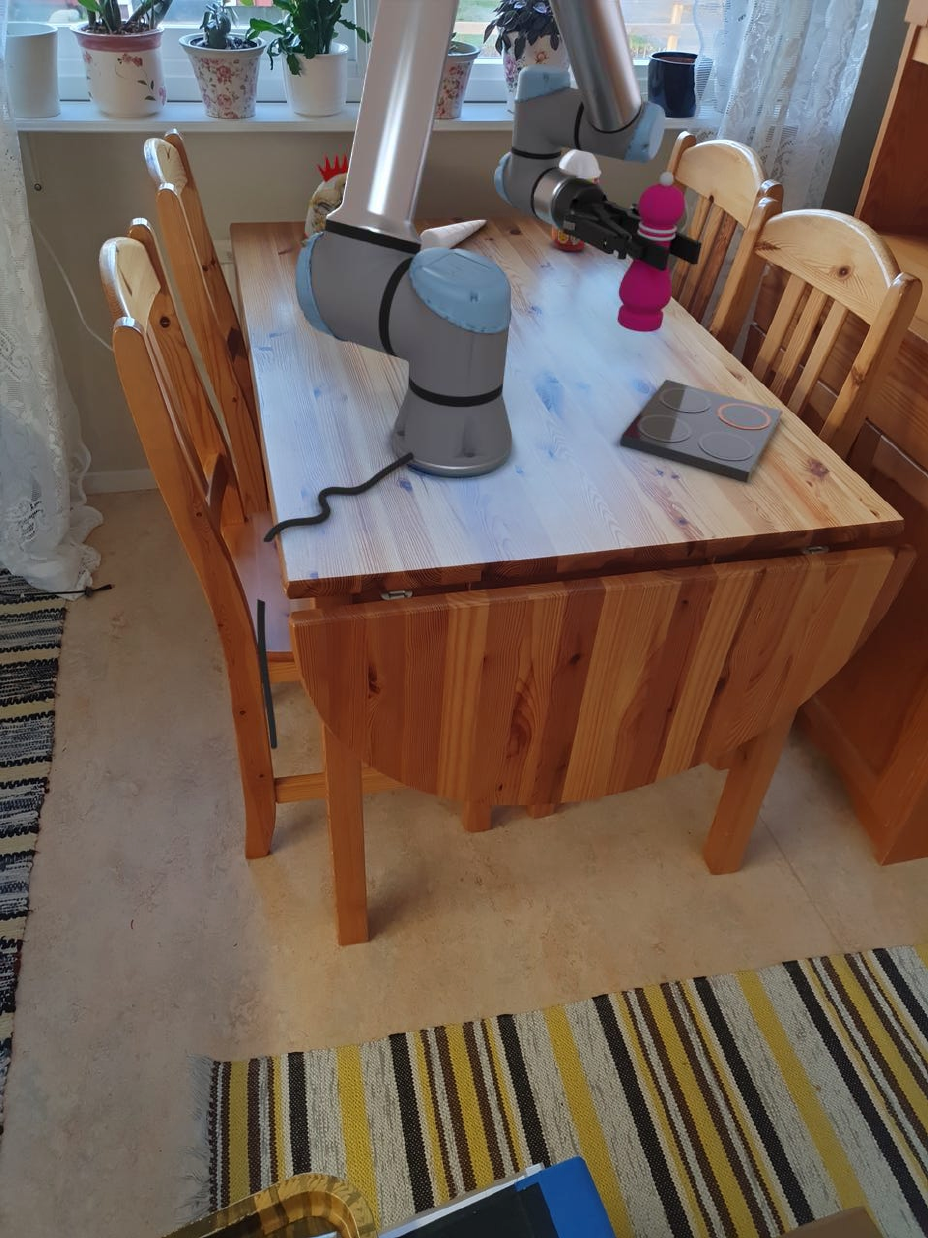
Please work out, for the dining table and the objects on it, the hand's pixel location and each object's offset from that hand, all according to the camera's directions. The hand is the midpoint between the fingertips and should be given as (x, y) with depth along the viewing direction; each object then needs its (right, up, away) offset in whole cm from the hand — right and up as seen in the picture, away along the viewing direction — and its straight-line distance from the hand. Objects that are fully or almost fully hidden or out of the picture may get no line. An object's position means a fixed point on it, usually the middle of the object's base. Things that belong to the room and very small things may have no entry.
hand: (681, 256), depth 120 cm
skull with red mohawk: (-51, +23, +52) cm, 77 cm away
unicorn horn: (-30, +25, +56) cm, 68 cm away
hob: (+4, -22, +5) cm, 23 cm away
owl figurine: (-47, +11, +38) cm, 62 cm away
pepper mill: (-4, -5, +11) cm, 12 cm away
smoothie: (-8, +25, +58) cm, 63 cm away
